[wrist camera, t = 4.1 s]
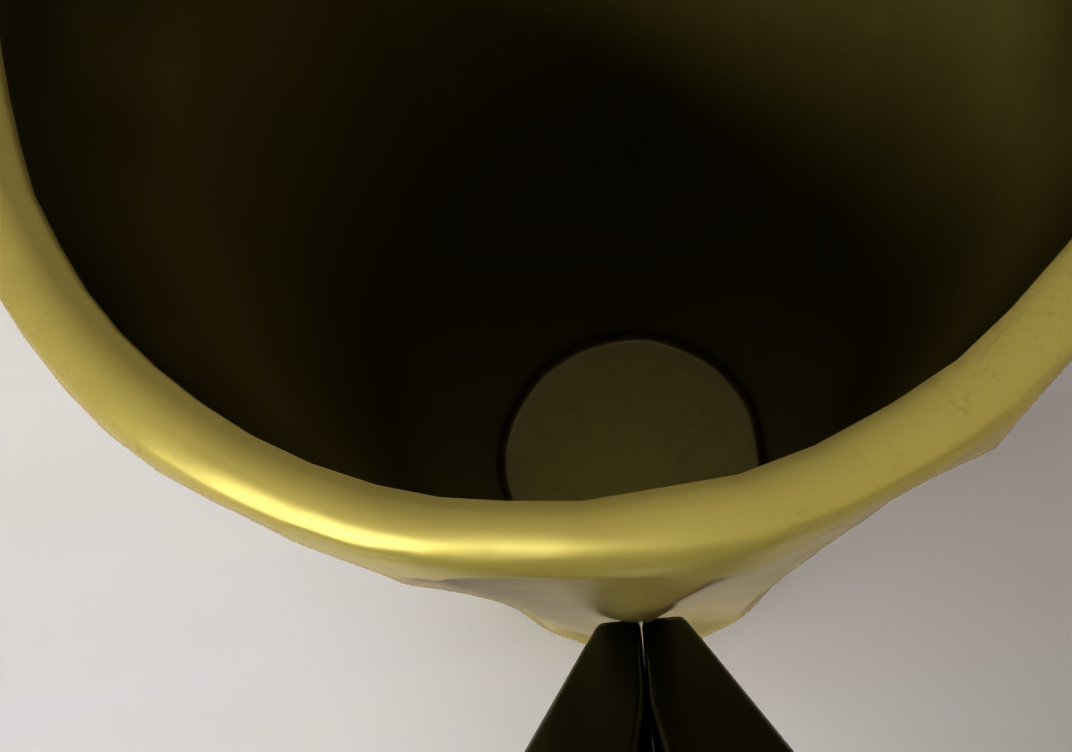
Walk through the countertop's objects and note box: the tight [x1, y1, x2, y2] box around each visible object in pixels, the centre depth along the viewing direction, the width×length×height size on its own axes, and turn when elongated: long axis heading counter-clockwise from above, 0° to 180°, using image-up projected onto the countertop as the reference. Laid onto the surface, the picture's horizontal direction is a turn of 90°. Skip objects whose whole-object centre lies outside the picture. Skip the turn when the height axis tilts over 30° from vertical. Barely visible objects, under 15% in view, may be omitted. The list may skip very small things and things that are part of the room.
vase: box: [0, 0, 1072, 651], centre depth 11 cm, size 6×6×14 cm
